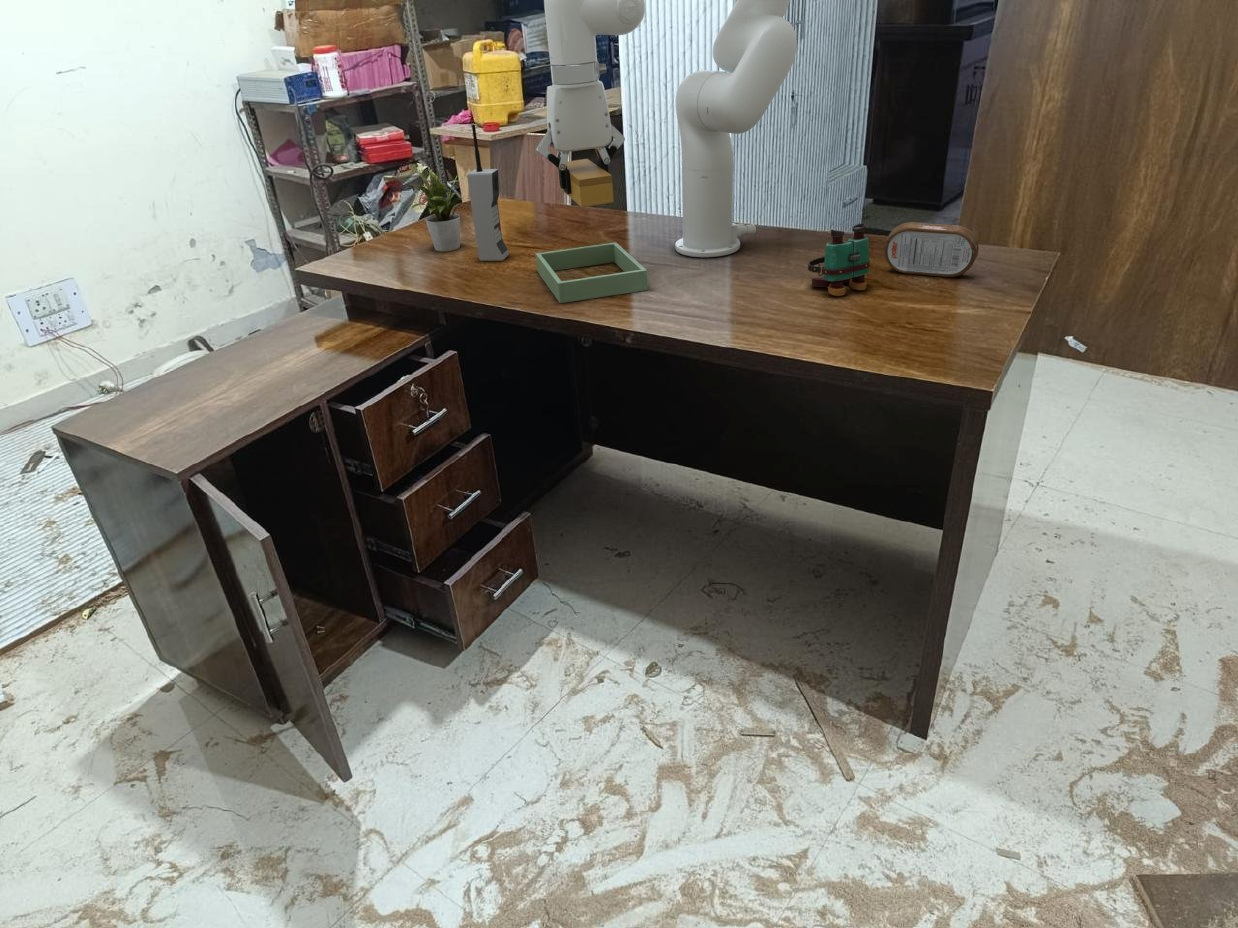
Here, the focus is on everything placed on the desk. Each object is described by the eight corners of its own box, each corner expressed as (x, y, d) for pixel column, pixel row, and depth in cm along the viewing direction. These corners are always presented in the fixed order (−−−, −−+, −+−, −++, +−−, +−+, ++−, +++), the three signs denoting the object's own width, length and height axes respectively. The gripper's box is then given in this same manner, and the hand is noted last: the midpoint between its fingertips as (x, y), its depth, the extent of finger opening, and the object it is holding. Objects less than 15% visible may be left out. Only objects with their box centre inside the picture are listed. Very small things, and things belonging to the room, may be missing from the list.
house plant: (393, 251, 174) (377, 169, 166) (445, 234, 183) (433, 156, 174) (437, 261, 166) (422, 176, 157) (489, 244, 175) (478, 162, 166)
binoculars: (838, 217, 142) (880, 223, 134) (837, 279, 146) (878, 288, 138) (796, 226, 139) (836, 233, 130) (796, 289, 143) (835, 299, 135)
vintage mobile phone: (503, 261, 163) (485, 125, 151) (479, 261, 164) (459, 126, 152) (509, 255, 167) (492, 122, 154) (485, 255, 168) (466, 122, 155)
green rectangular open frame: (617, 260, 160) (616, 242, 158) (647, 290, 145) (646, 270, 143) (537, 272, 157) (535, 253, 155) (560, 303, 141) (558, 283, 139)
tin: (974, 275, 142) (982, 225, 138) (972, 281, 140) (981, 230, 135) (883, 267, 148) (888, 220, 144) (880, 273, 145) (885, 224, 141)
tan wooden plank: (589, 184, 151) (587, 158, 149) (613, 202, 139) (611, 175, 137) (559, 188, 150) (556, 163, 148) (581, 207, 138) (578, 179, 135)
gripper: (618, 67, 140) (625, 178, 149) (518, 79, 136) (531, 192, 145) (632, 71, 133) (639, 187, 143) (527, 83, 130) (541, 202, 139)
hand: (585, 188), depth 144 cm, fingers closed on tan wooden plank, 5 cm apart
